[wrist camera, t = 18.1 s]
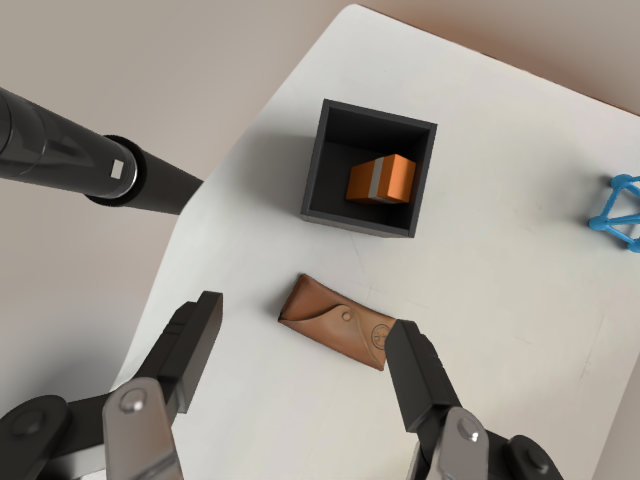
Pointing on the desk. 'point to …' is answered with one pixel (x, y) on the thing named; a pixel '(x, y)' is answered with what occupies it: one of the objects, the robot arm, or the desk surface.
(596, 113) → the desk surface
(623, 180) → the molecular structure
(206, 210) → the desk surface
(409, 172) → the block
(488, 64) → the desk surface
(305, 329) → the sunglasses case
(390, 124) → the dark grey storage bin
